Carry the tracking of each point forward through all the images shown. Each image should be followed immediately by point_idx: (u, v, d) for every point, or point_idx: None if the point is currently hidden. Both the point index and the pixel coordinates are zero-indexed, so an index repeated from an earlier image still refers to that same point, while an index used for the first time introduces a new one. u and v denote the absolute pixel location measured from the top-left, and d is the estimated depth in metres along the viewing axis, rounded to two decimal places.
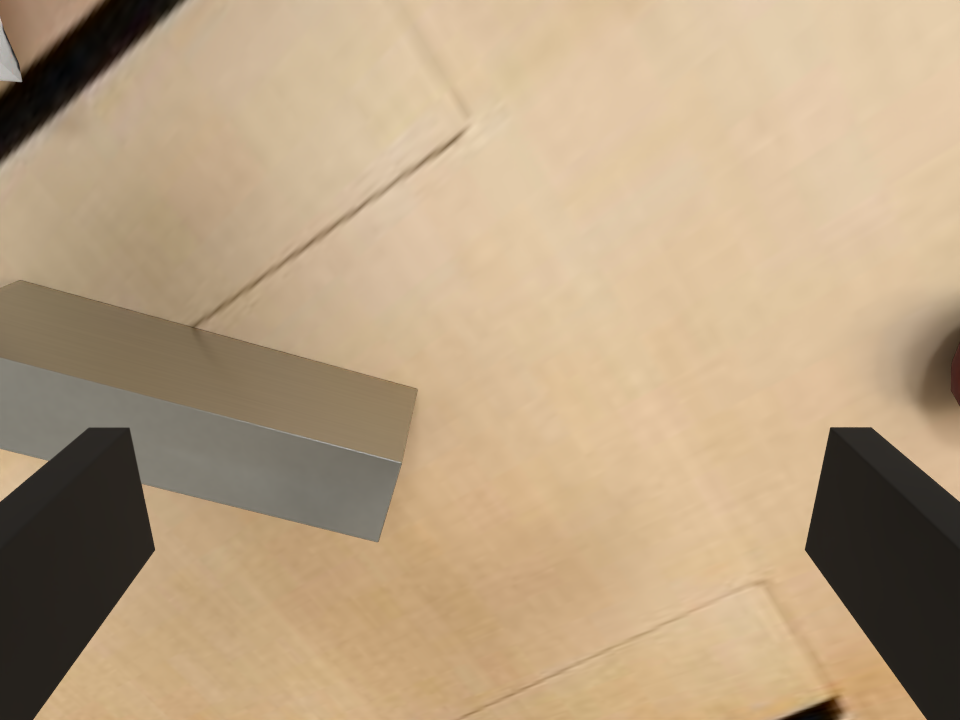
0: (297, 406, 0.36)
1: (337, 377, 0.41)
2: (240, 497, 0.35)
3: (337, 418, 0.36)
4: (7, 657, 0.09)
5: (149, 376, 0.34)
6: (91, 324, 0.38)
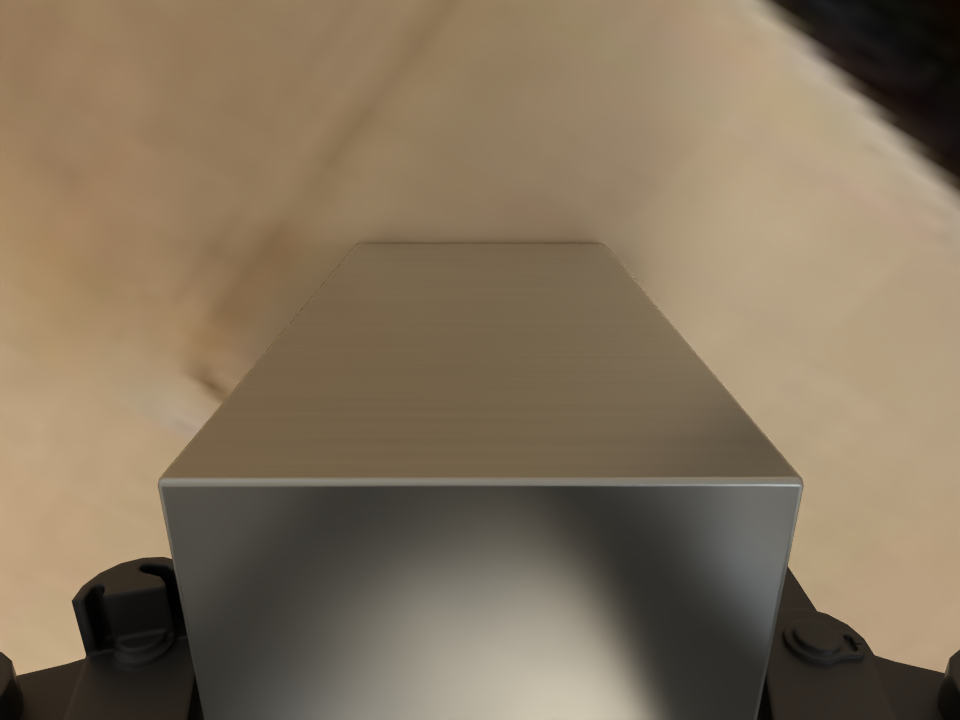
0: None
1: None
2: None
3: None
4: None
5: None
6: None
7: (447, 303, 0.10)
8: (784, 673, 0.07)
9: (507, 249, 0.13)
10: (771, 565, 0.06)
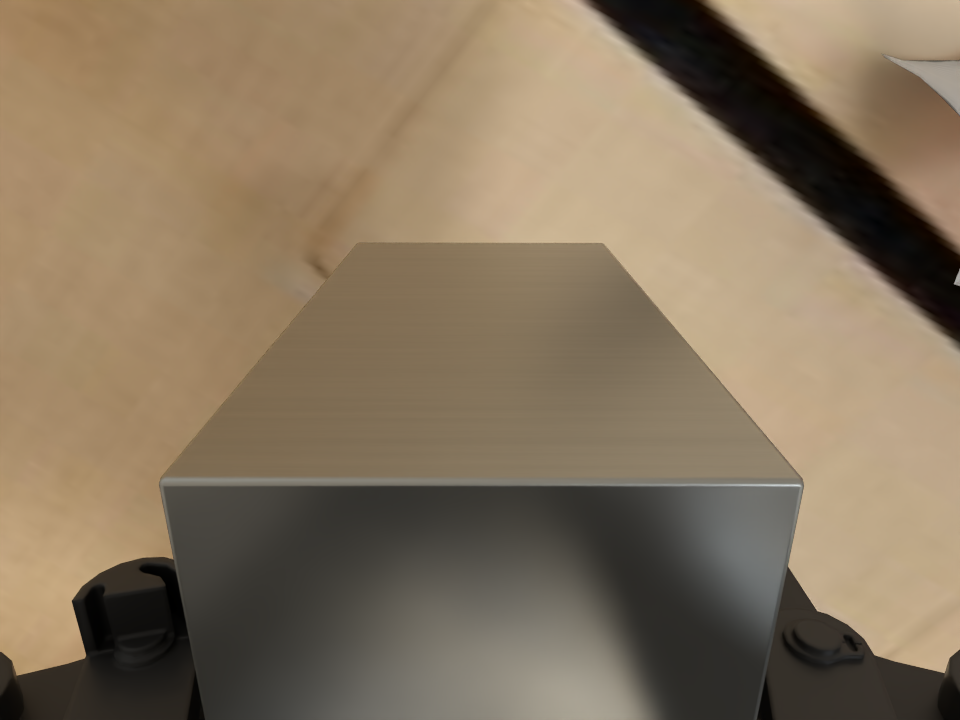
0: None
1: None
2: None
3: None
4: None
5: None
6: None
7: (448, 302, 0.10)
8: (784, 672, 0.07)
9: (507, 249, 0.13)
10: (771, 566, 0.06)
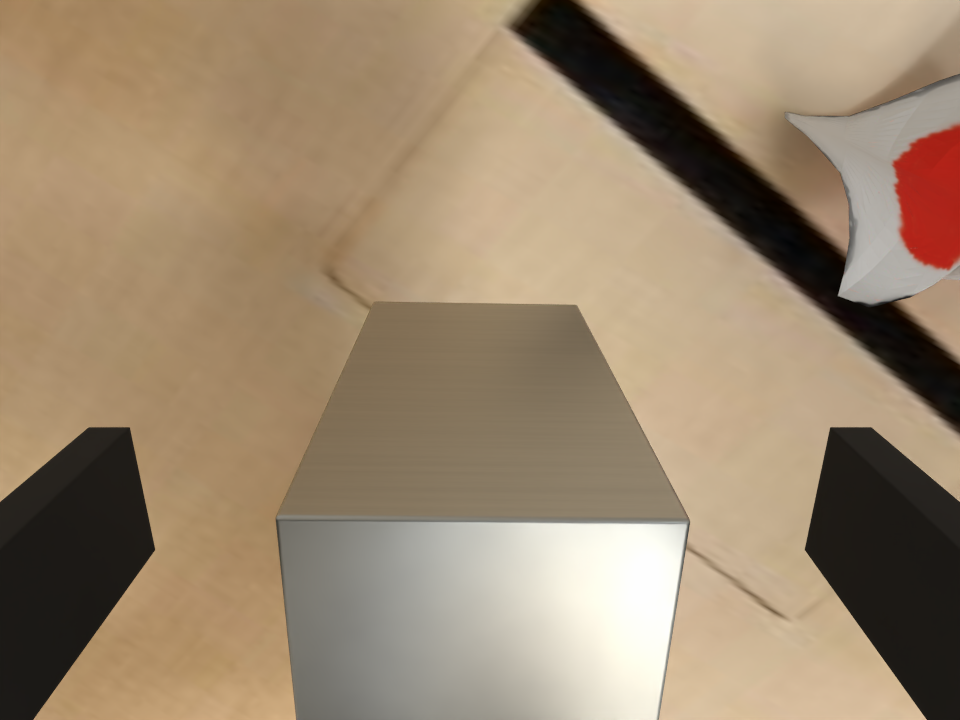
0: None
1: None
2: None
3: None
4: (7, 657, 0.09)
5: None
6: None
7: (454, 368, 0.13)
8: None
9: (498, 311, 0.16)
10: (670, 574, 0.08)
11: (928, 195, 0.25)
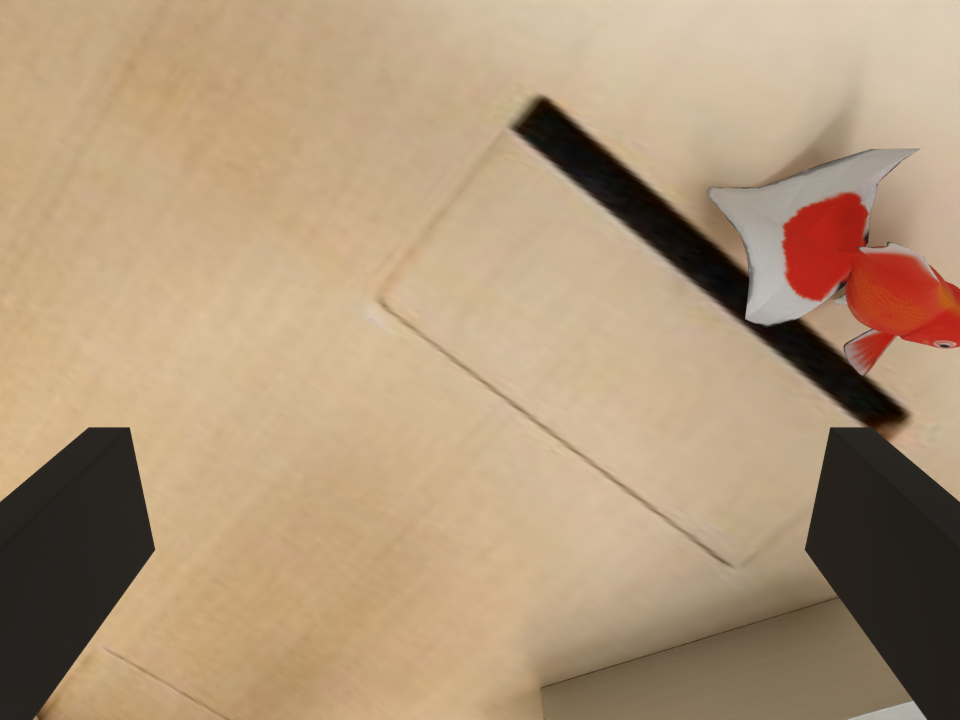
0: None
1: None
2: None
3: None
4: (7, 657, 0.09)
5: None
6: None
7: None
8: None
9: None
10: None
11: (807, 248, 0.36)
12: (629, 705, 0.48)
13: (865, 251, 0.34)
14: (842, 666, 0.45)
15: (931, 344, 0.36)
